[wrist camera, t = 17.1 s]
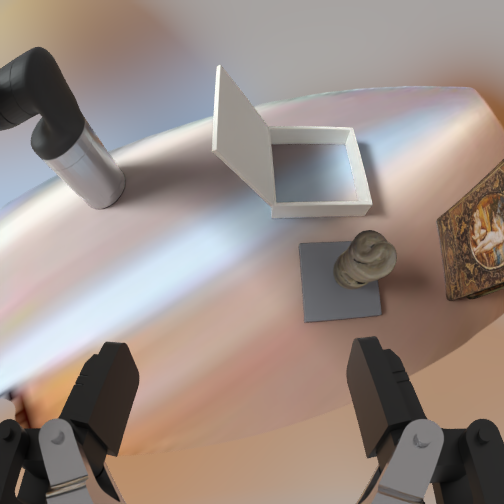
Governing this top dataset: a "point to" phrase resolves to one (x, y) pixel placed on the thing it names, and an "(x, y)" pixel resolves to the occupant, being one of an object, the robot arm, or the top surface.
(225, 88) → the box
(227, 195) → the top surface
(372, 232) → the twisted stone column
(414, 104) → the top surface
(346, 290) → the mat
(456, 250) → the book
